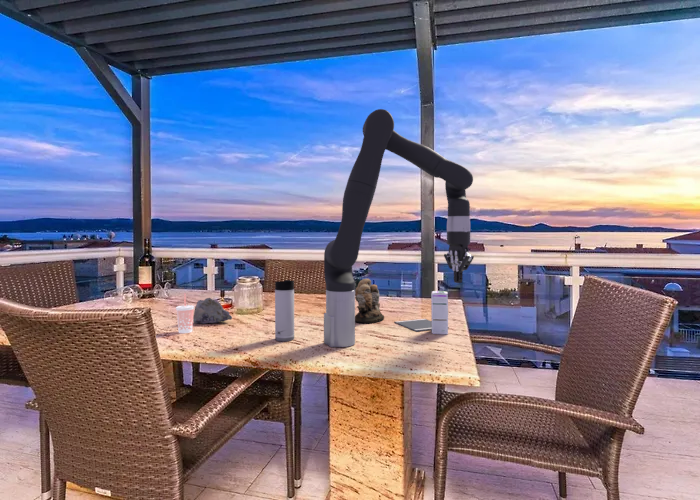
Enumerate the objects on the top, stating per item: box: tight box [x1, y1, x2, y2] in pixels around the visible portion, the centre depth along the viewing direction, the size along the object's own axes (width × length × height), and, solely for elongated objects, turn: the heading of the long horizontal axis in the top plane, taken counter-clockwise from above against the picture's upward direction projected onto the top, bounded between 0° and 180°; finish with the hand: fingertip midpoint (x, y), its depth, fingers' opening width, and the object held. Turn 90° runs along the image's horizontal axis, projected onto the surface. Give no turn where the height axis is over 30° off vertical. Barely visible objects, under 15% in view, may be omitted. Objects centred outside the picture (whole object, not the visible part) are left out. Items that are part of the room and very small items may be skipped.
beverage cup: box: [175, 292, 195, 334], centre depth 146 cm, size 6×6×14 cm
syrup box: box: [430, 290, 449, 335], centre depth 146 cm, size 6×6×14 cm
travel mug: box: [274, 279, 295, 343], centre depth 136 cm, size 6×7×20 cm
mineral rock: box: [193, 297, 233, 325], centre depth 160 cm, size 13×11×10 cm
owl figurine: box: [355, 278, 385, 325], centre depth 167 cm, size 18×12×17 cm, turn 159°
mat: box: [394, 318, 450, 333], centre depth 157 cm, size 14×16×1 cm
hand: (458, 282), depth 136 cm, fingers closed
